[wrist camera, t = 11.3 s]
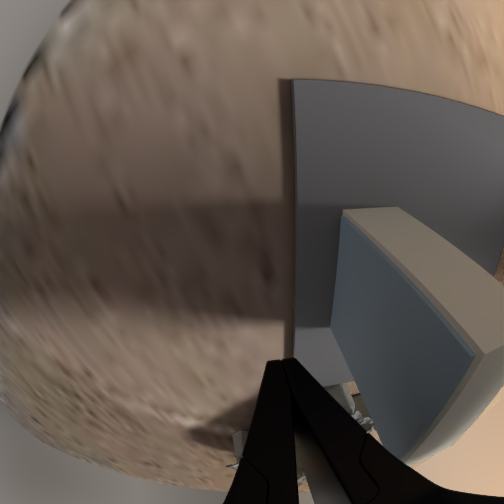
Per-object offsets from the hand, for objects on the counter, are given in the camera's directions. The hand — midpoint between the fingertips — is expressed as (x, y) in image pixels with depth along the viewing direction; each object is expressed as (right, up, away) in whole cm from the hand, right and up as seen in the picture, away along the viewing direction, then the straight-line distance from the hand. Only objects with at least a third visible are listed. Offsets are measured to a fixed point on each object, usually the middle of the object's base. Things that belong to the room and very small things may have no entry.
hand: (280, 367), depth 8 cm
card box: (+4, +3, +4) cm, 6 cm away
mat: (+8, +3, +5) cm, 10 cm away
